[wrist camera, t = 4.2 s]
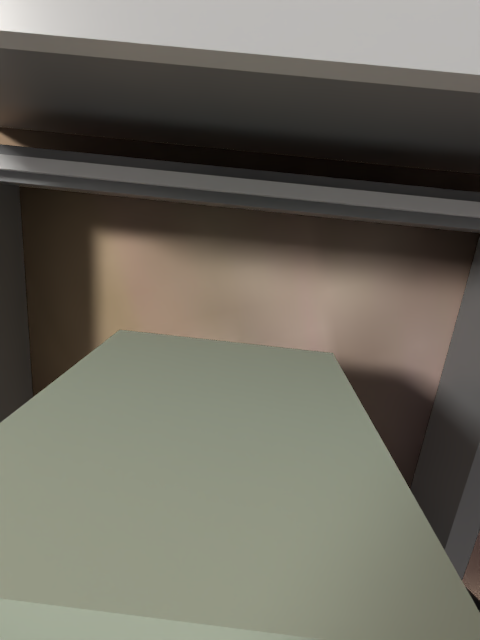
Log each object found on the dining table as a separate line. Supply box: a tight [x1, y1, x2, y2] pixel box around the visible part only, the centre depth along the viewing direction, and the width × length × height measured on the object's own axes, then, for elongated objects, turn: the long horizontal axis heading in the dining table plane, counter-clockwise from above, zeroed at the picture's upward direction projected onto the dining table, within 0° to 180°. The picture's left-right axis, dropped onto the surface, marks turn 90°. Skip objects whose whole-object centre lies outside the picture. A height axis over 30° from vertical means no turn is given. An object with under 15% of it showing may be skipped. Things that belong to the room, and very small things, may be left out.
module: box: [0, 330, 480, 640], centre depth 6 cm, size 5×5×6 cm
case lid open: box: [0, 0, 480, 174], centre depth 7 cm, size 16×2×6 cm, turn 84°
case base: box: [0, 145, 480, 580], centre depth 11 cm, size 16×13×3 cm
